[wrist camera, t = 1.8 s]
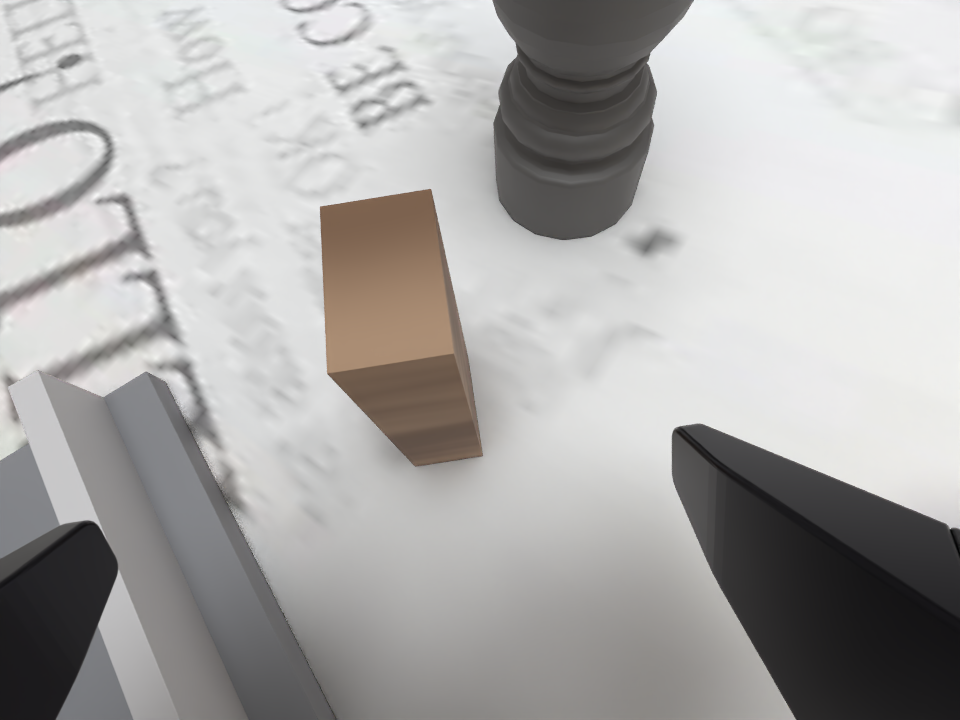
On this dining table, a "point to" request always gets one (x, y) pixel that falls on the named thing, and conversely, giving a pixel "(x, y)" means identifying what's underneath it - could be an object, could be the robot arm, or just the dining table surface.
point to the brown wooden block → (398, 325)
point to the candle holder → (577, 109)
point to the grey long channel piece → (153, 560)
